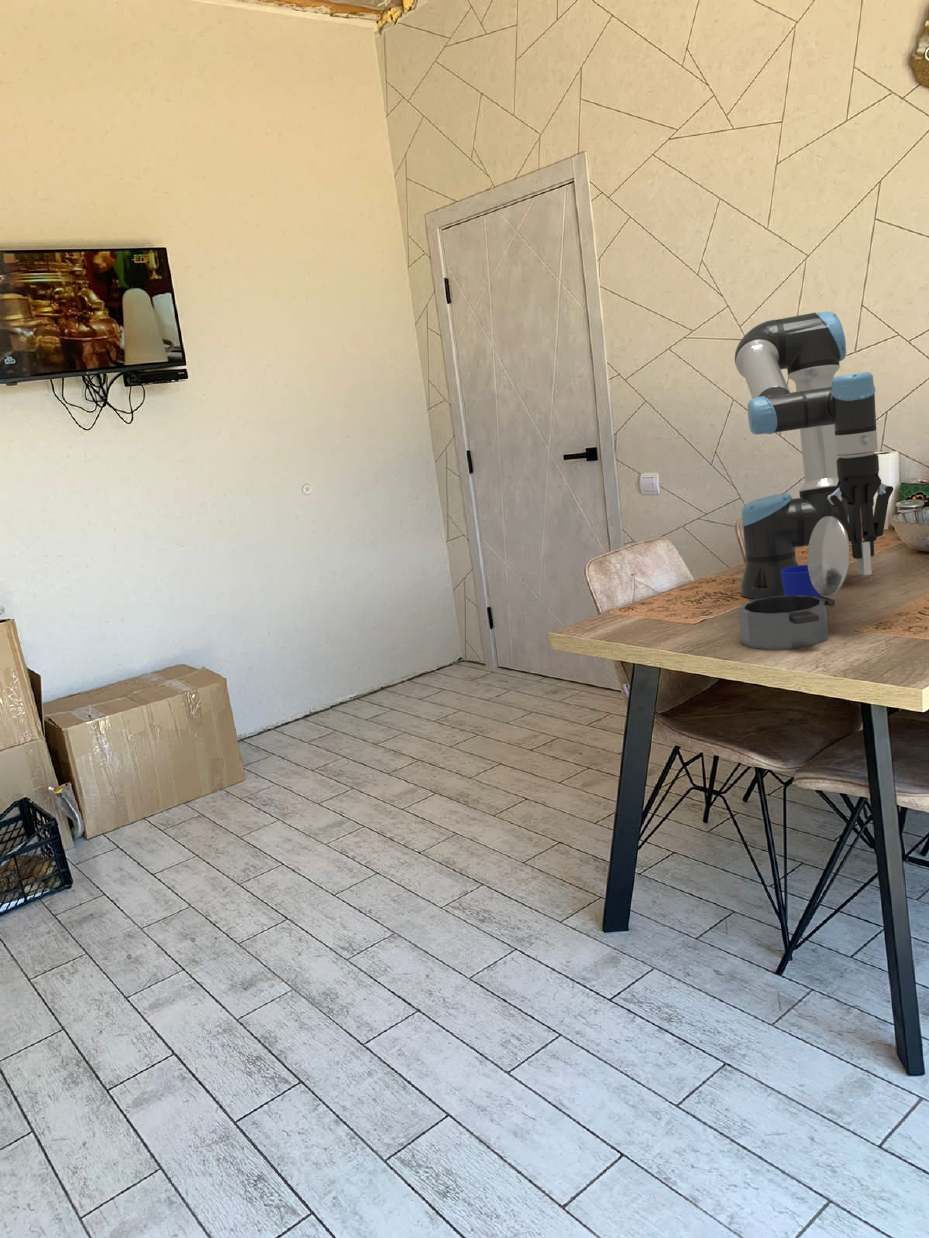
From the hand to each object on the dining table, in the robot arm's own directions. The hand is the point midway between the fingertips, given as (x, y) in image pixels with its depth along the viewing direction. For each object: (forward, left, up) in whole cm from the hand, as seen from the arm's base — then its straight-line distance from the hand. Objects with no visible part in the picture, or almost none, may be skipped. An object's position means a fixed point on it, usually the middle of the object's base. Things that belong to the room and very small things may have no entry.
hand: (864, 573), depth 186 cm
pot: (0, -17, -10) cm, 20 cm away
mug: (-19, -4, -11) cm, 22 cm away
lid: (0, -8, +5) cm, 9 cm away
